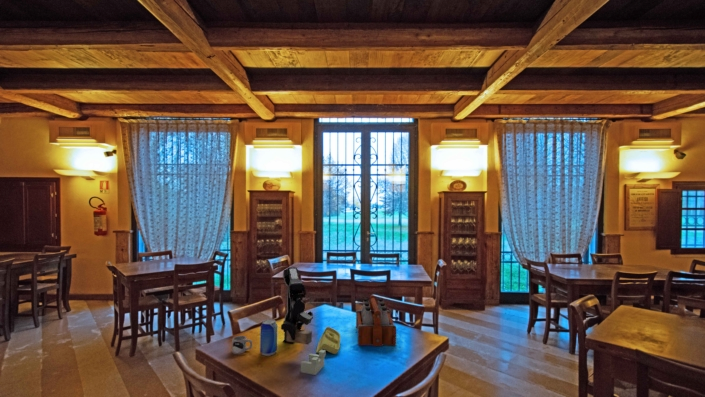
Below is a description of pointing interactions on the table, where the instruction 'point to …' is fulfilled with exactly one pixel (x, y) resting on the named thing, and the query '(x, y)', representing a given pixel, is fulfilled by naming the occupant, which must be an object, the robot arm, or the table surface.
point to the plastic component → (329, 341)
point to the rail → (301, 337)
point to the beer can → (268, 337)
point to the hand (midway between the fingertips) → (295, 338)
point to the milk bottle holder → (375, 324)
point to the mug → (240, 344)
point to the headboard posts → (313, 363)
